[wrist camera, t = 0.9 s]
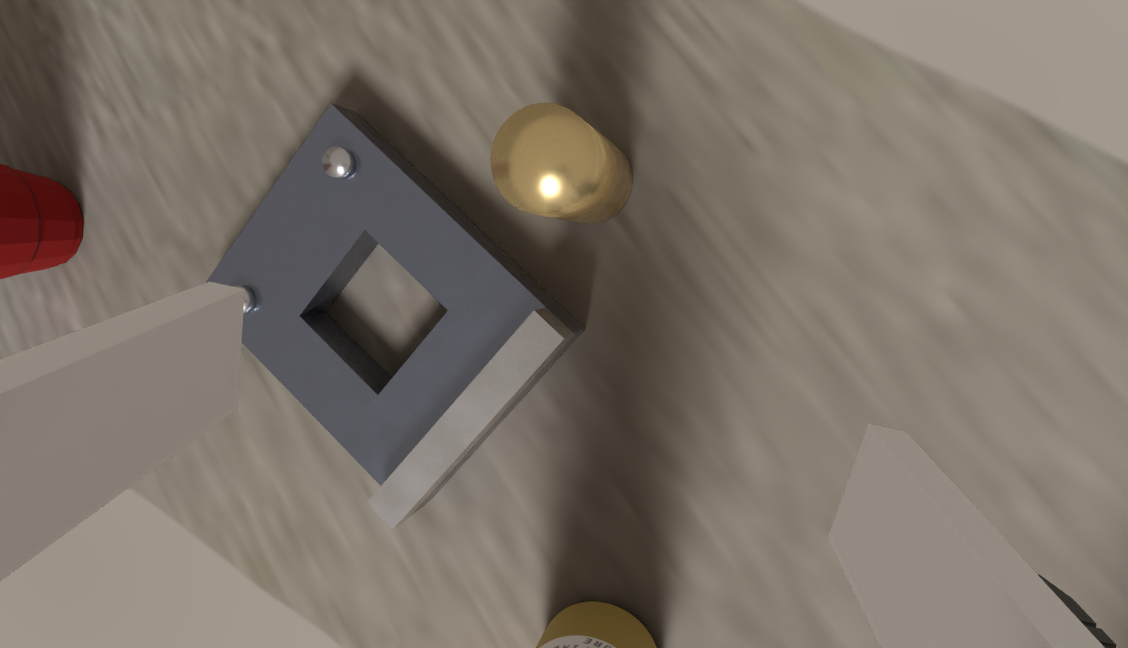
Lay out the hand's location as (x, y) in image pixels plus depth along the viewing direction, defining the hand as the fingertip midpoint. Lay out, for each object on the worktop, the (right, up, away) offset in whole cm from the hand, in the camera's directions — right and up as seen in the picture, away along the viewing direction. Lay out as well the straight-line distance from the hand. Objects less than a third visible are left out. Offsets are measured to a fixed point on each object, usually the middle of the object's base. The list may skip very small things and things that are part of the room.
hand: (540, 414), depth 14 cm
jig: (-9, +3, +26) cm, 27 cm away
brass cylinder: (+2, +9, +22) cm, 24 cm away
